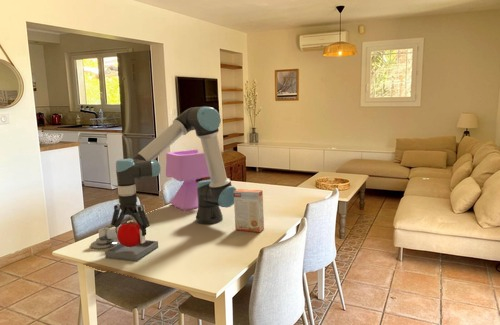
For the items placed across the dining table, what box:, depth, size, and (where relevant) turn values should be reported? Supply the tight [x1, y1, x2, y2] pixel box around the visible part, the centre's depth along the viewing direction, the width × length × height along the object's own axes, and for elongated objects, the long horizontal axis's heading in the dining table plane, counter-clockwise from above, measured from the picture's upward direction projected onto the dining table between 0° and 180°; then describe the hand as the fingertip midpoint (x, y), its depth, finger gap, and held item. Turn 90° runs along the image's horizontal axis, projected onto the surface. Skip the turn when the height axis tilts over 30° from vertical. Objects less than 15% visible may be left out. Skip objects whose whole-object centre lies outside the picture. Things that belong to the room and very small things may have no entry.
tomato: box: [117, 220, 141, 247], centre depth 169 cm, size 12×12×11 cm
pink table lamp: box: [165, 148, 210, 212], centre depth 246 cm, size 23×23×35 cm
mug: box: [128, 204, 147, 223], centre depth 214 cm, size 8×12×12 cm, turn 59°
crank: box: [97, 220, 128, 240], centre depth 180 cm, size 15×5×8 cm, turn 80°
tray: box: [104, 239, 159, 262], centre depth 170 cm, size 16×16×3 cm
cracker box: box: [233, 188, 265, 233], centre depth 193 cm, size 14×6×21 cm, turn 65°
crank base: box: [90, 237, 119, 250], centre depth 182 cm, size 13×13×3 cm
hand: (131, 241), depth 169 cm, fingers closed on tomato, 11 cm apart
